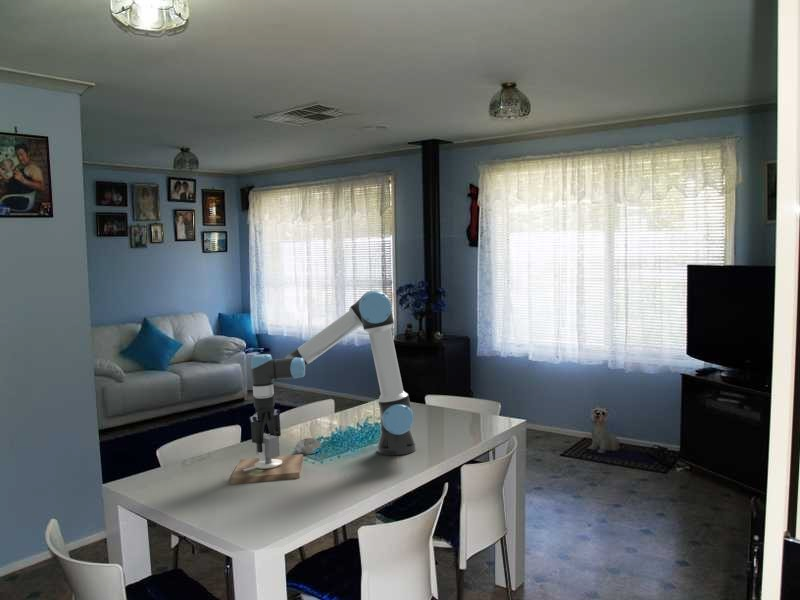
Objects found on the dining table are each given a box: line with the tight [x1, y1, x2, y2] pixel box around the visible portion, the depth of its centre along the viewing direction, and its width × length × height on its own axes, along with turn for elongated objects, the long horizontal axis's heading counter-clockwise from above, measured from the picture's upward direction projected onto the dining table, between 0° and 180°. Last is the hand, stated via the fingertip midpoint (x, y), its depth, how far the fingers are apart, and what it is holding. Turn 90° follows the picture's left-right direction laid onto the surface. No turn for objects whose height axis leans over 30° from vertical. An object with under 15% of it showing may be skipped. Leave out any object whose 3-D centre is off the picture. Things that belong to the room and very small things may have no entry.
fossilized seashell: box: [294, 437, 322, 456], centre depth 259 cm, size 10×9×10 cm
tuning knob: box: [244, 432, 282, 471], centre depth 233 cm, size 15×10×11 cm, turn 132°
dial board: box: [229, 454, 304, 485], centre depth 235 cm, size 24×24×2 cm
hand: (268, 458), depth 235 cm, fingers closed on tuning knob, 5 cm apart
